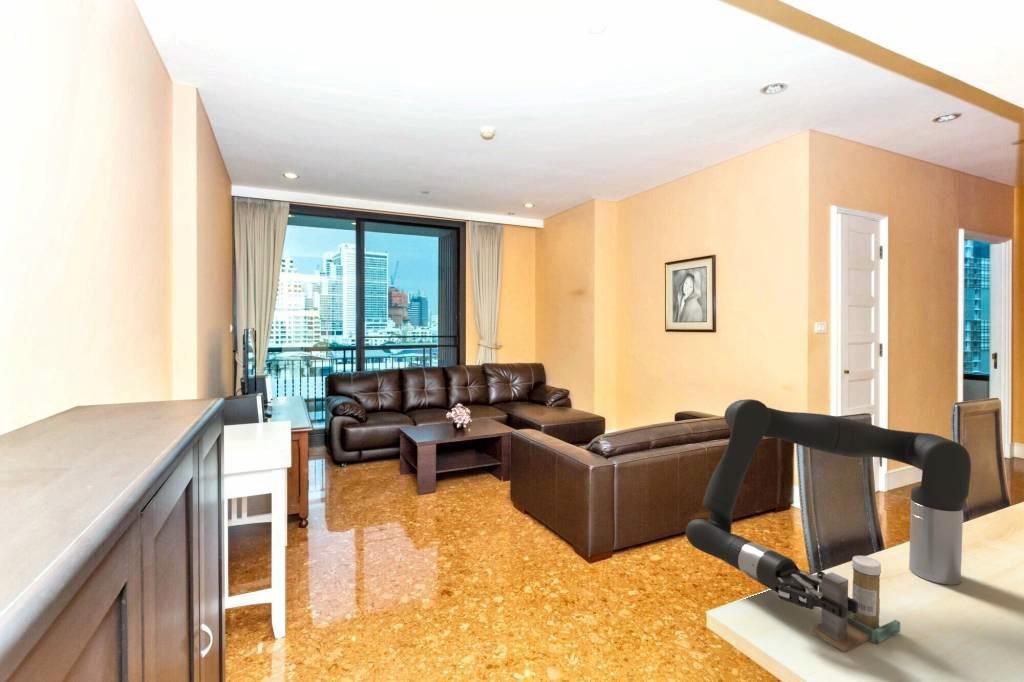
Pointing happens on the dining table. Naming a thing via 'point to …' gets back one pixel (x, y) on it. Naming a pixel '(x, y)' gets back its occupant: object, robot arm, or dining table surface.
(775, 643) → the dining table surface
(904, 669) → the dining table surface
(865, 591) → the sprinkles bottle
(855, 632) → the stand
